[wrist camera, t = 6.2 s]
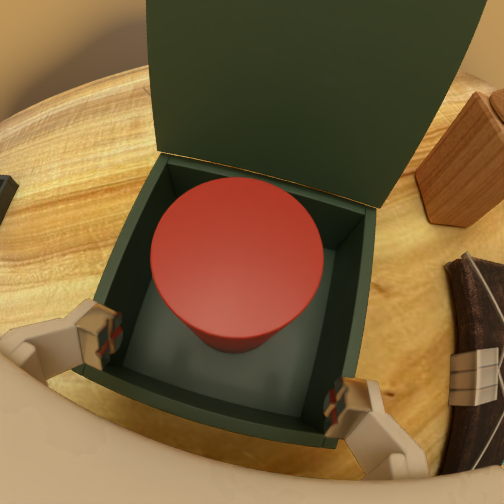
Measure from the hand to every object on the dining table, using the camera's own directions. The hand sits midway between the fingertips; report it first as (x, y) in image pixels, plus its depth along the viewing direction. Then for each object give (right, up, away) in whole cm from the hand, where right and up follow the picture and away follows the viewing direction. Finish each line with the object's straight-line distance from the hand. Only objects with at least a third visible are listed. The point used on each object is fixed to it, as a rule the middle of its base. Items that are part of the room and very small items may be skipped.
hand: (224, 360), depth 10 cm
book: (+27, -8, +11) cm, 30 cm away
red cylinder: (0, 0, +11) cm, 11 cm away
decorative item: (+22, +9, +18) cm, 29 cm away
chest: (0, -1, +12) cm, 12 cm away
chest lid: (+3, +12, +1) cm, 13 cm away
